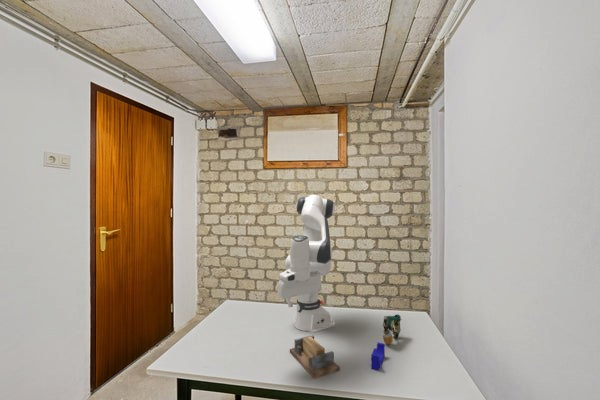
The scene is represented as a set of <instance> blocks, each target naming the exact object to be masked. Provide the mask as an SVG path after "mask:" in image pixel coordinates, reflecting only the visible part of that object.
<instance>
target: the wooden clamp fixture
mask: <svg viewBox="0 0 600 400" xmlns="http://www.w3.org/2000/svg"><path fill="white" fill-rule="evenodd" d="M307 337H312V338H313V339H314V340H315V335H314V334H313V335H307V336H304V337H300V338H296V339H294V347H292V348H289V354H291V355H292V356H293V358H295V360H296V361H297V362H298V363H299V364H300V365H301V367H303V369H305V371H306V372H307V373H308V374H309V375H310V376H311V377H312V378H313V379H316V378H320V377H323V376H326V375H329V374H332V373H336V372H339V371H340V369H341V368H340V367H341V366H339V365H338V364H337V363H336V362H335V357H334V356H335V353H334V351H329V352H325V353H324V354H320V355H317V356H313V357H312V358H308V357H307V356H306V355H305V354H304V353H303V338H307Z"/></svg>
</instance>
